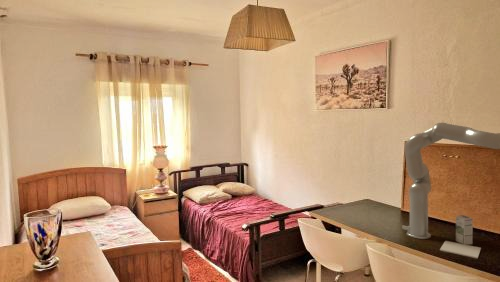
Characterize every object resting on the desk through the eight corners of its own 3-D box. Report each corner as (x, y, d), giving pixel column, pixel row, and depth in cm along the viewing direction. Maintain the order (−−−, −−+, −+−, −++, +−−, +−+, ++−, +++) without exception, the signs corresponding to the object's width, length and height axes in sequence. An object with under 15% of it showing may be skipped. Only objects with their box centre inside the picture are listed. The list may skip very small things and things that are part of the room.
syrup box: (472, 244, 172) (473, 217, 171) (463, 245, 171) (464, 218, 170) (464, 240, 177) (464, 214, 176) (454, 241, 176) (455, 215, 175)
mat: (439, 250, 164) (439, 249, 164) (445, 241, 176) (445, 240, 176) (477, 258, 154) (477, 257, 154) (480, 248, 165) (480, 247, 165)
